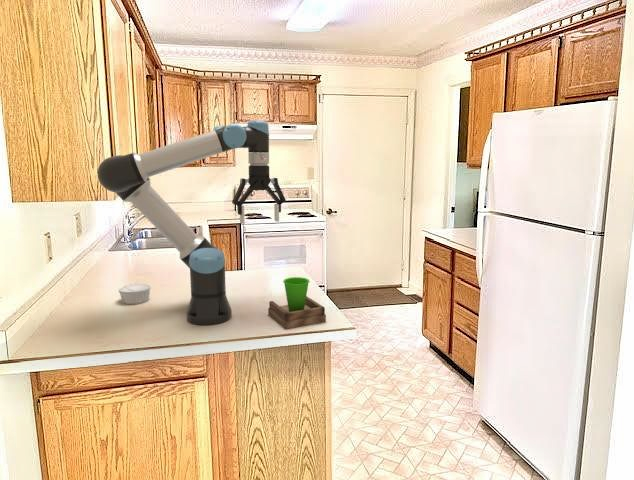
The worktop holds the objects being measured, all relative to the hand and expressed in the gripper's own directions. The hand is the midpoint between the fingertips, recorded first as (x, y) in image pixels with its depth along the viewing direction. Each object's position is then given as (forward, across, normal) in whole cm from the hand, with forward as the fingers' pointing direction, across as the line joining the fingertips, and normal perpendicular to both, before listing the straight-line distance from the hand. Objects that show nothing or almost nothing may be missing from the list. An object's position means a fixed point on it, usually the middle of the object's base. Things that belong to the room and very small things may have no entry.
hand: (259, 222), depth 174 cm
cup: (+28, +4, -23) cm, 37 cm away
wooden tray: (+31, +4, -23) cm, 39 cm away
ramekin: (+31, -43, +22) cm, 57 cm away
